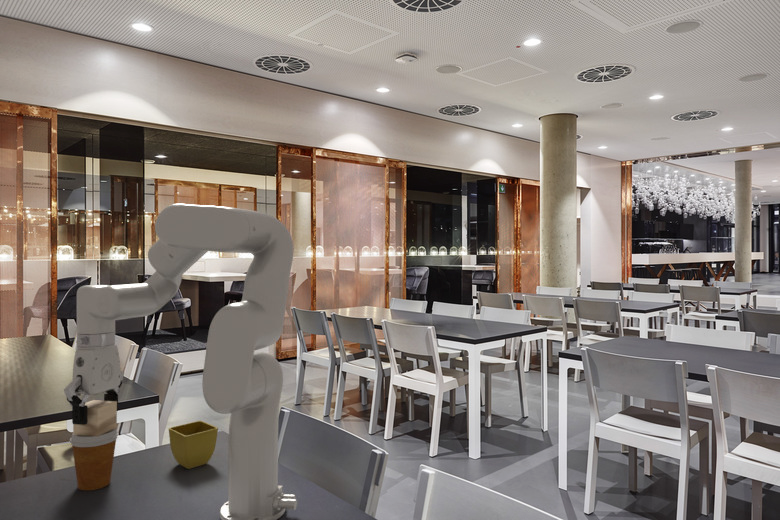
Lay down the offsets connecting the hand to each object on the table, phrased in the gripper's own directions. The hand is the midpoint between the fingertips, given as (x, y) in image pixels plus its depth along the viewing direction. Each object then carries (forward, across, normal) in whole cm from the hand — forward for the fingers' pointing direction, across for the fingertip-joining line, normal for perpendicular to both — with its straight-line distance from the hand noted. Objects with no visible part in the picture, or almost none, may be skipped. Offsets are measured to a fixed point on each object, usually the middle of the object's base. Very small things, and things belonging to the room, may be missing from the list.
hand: (96, 417), depth 119 cm
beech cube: (+3, 0, 0) cm, 3 cm away
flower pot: (+15, +15, -15) cm, 26 cm away
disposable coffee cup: (+15, 0, 0) cm, 15 cm away
